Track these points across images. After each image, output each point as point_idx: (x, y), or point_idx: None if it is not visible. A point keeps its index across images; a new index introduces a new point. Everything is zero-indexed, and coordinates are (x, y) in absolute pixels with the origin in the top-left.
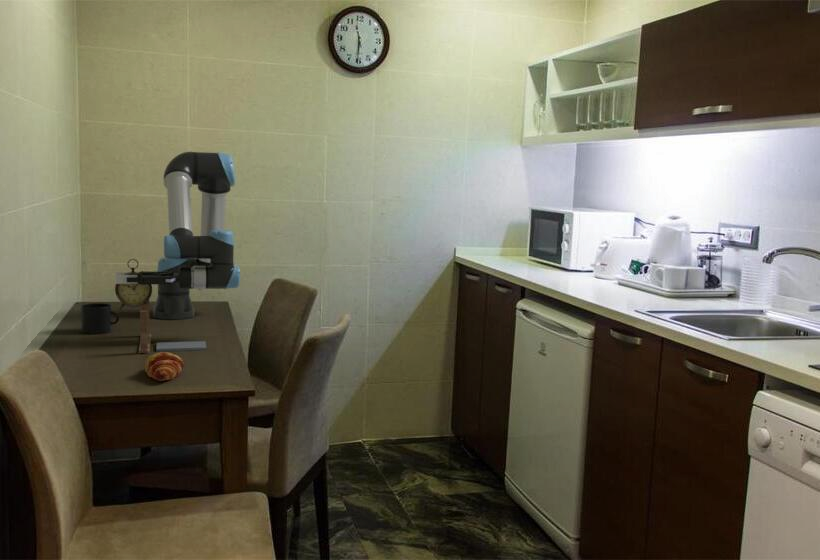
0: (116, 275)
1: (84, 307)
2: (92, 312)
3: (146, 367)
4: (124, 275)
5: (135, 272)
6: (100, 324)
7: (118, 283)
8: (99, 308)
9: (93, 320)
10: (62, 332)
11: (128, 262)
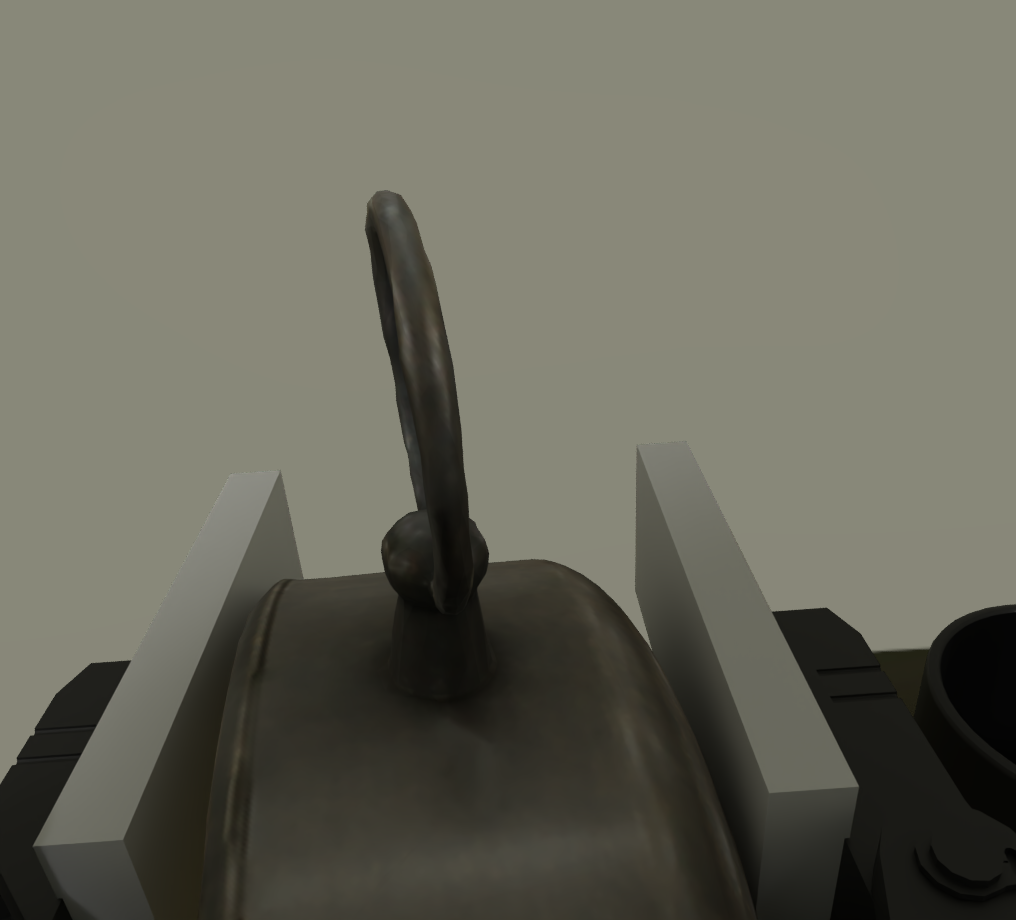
0: (225, 488)
1: (941, 633)
2: (924, 725)
3: None
4: (179, 582)
5: (401, 724)
6: None
7: None
8: (971, 747)
9: None
10: (897, 681)
11: (377, 295)
